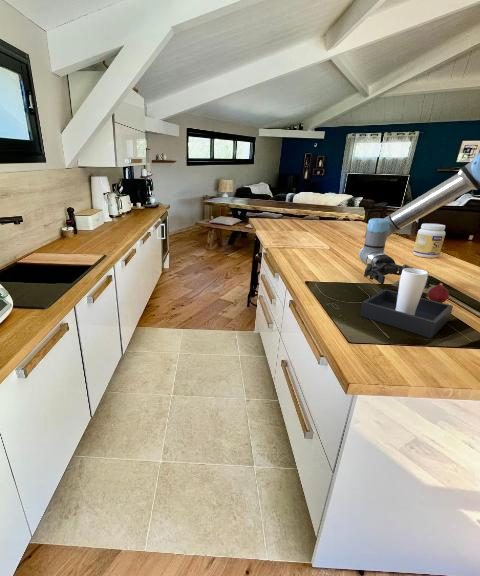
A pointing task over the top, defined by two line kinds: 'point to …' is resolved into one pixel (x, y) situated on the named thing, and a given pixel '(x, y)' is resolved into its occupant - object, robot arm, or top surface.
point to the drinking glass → (410, 289)
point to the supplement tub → (429, 240)
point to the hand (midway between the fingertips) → (405, 281)
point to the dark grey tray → (424, 321)
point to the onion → (438, 293)
